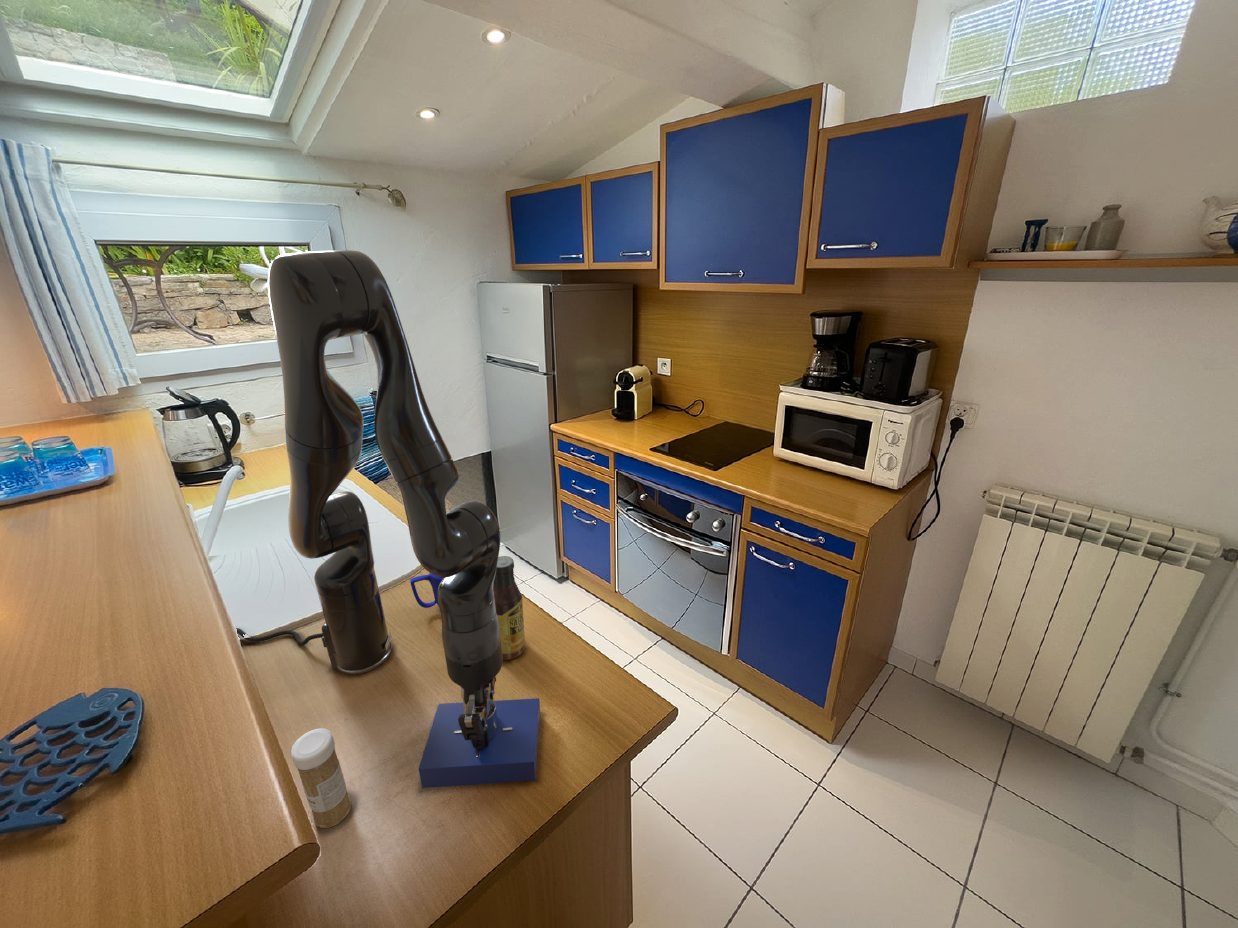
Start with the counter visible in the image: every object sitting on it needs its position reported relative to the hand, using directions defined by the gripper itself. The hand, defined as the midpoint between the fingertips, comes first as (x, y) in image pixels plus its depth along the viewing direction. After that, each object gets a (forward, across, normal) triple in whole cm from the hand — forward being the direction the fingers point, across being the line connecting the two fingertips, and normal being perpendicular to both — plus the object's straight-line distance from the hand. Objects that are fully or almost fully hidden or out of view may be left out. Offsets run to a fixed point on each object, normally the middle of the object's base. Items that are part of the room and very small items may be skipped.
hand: (484, 729), depth 74 cm
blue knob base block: (+4, 0, 0) cm, 4 cm away
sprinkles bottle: (+4, +8, -19) cm, 21 cm away
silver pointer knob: (0, 0, 0) cm, 0 cm away
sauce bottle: (+4, -21, +1) cm, 22 cm away
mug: (+4, -34, -15) cm, 37 cm away
